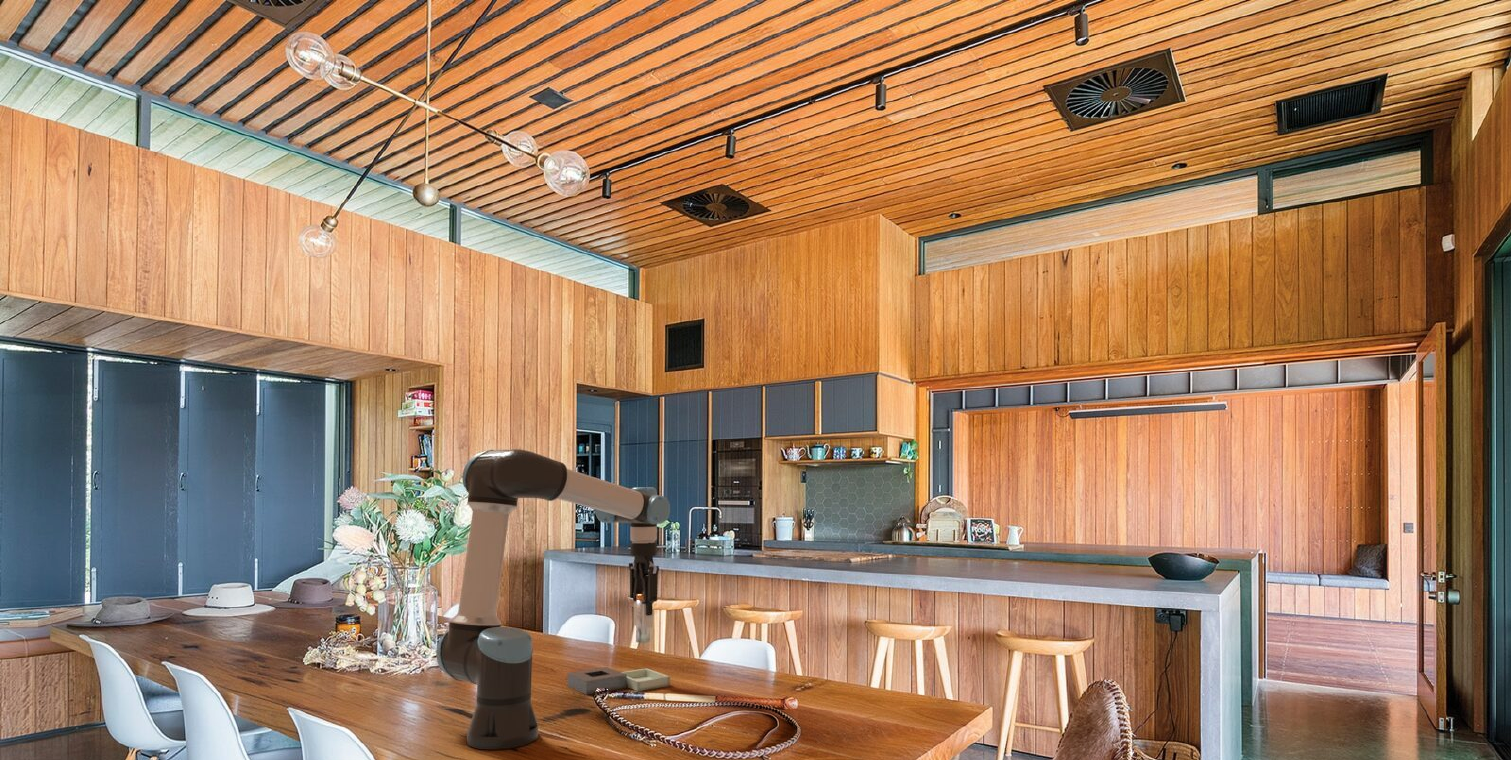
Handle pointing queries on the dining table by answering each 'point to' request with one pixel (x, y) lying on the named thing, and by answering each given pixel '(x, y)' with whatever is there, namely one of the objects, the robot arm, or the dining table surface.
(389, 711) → the dining table surface
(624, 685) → the block
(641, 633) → the orange capped vial
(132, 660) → the dining table surface
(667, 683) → the tray
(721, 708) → the dining table surface
